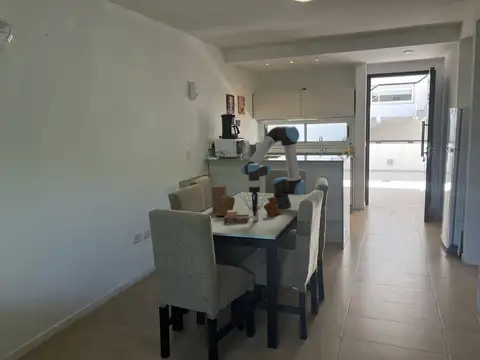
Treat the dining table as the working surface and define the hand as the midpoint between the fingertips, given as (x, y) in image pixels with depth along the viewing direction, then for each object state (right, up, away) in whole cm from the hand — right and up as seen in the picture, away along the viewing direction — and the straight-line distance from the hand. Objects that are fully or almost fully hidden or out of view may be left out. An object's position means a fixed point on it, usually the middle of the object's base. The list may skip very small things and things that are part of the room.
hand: (255, 219), depth 277 cm
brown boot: (-21, 0, +22) cm, 30 cm away
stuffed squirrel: (+13, +1, +16) cm, 20 cm away
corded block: (-9, -1, +2) cm, 9 cm away
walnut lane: (-13, -2, +2) cm, 13 cm away
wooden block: (-27, +3, +39) cm, 48 cm away
